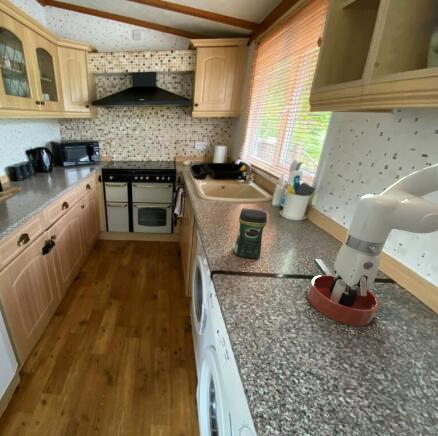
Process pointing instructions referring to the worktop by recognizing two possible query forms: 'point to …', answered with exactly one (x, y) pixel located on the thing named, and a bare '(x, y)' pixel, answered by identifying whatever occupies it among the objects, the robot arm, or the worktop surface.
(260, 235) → the coffee jar
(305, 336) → the worktop surface
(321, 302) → the pan
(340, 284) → the pale grey cylinder
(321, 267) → the pan handle
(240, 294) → the worktop surface
